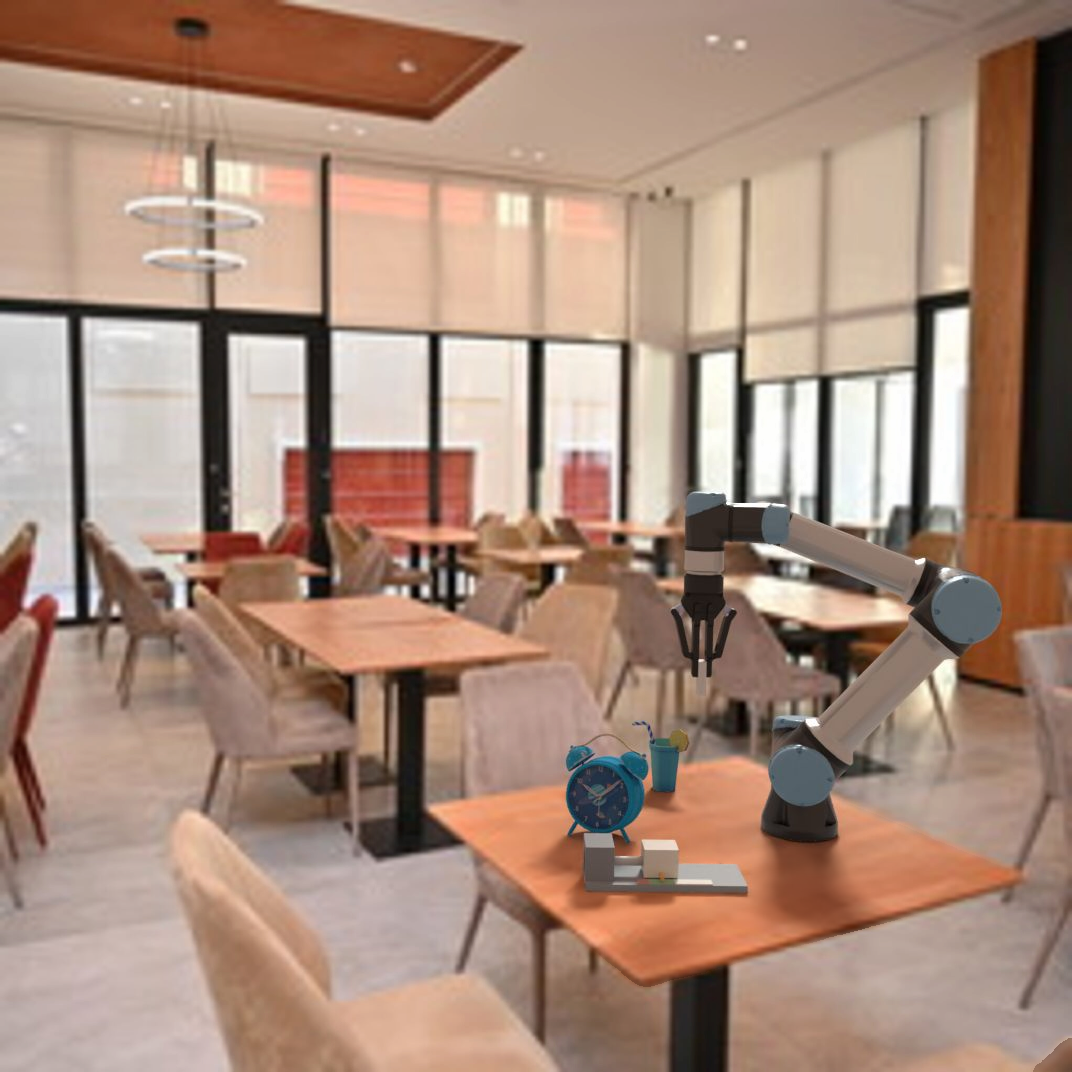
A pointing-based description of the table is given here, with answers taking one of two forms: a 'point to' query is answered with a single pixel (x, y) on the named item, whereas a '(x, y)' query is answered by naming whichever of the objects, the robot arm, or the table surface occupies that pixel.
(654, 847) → the plunger
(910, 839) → the table surface
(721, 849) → the table surface
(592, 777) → the alarm clock
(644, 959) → the table surface
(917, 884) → the table surface
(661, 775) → the cup
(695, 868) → the gauge board
